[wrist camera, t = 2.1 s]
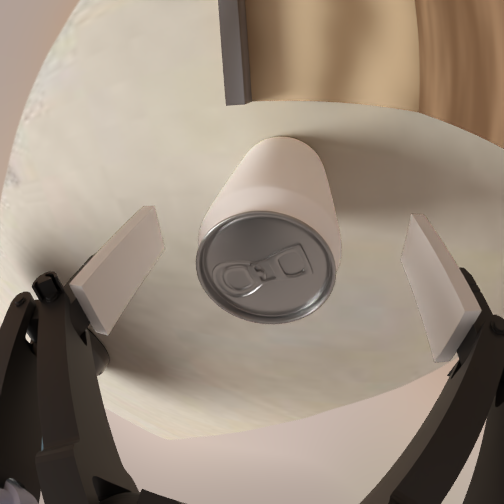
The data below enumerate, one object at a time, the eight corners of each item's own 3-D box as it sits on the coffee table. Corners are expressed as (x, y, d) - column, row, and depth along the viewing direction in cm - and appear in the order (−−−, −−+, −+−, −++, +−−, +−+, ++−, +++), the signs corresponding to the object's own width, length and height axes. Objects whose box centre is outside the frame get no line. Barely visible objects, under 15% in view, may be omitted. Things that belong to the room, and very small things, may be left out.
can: (225, 155, 21) (155, 236, 11) (304, 121, 18) (313, 172, 9) (262, 224, 24) (232, 340, 14) (336, 198, 21) (362, 311, 11)
